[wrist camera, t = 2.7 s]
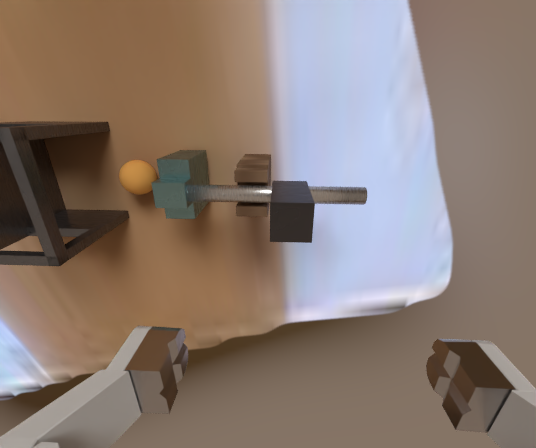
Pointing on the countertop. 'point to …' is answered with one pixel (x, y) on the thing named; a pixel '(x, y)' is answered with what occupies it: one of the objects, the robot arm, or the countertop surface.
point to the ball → (137, 176)
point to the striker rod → (244, 195)
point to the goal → (43, 196)
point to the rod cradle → (253, 182)
